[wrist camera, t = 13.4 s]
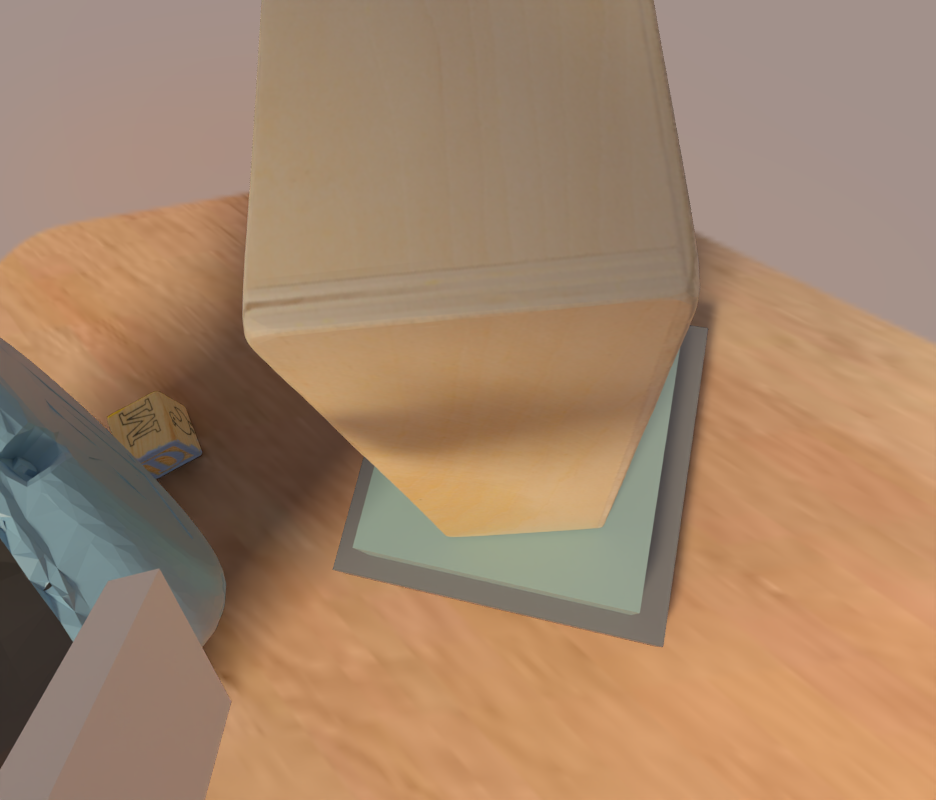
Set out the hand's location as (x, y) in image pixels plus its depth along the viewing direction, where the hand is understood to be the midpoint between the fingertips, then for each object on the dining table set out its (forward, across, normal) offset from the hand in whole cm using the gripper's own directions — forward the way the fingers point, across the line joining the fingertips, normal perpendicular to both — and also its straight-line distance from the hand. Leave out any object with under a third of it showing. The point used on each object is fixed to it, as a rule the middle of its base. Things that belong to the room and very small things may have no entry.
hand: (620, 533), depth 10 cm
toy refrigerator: (+19, -1, -9) cm, 21 cm away
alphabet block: (+27, -19, -8) cm, 34 cm away
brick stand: (+23, 0, -12) cm, 26 cm away
